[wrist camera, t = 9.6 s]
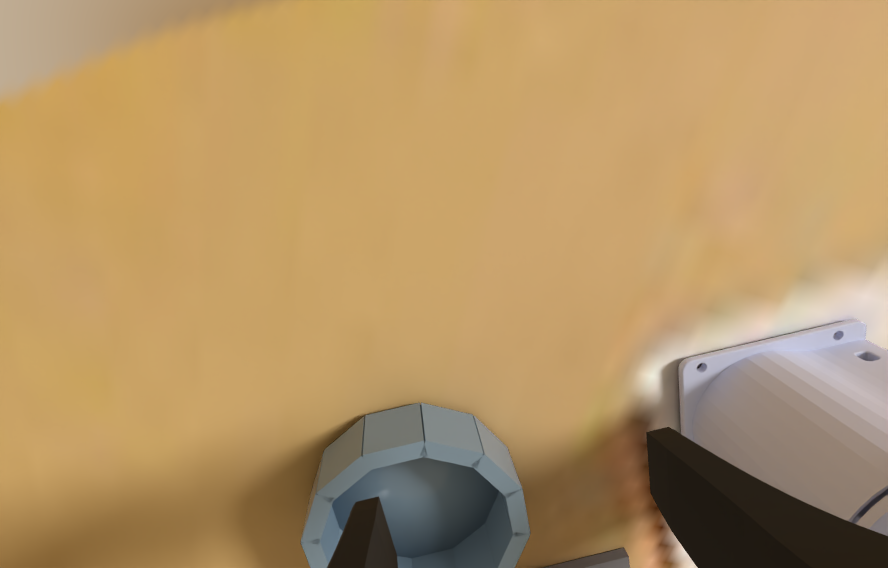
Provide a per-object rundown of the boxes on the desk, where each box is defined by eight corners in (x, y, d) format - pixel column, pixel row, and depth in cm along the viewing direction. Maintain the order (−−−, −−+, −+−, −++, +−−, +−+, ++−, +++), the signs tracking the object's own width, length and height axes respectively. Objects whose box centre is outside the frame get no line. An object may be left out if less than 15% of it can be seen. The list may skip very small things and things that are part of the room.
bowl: (494, 381, 24) (510, 420, 21) (523, 537, 27) (540, 590, 24) (289, 429, 23) (274, 475, 20) (344, 581, 27) (339, 640, 24)
